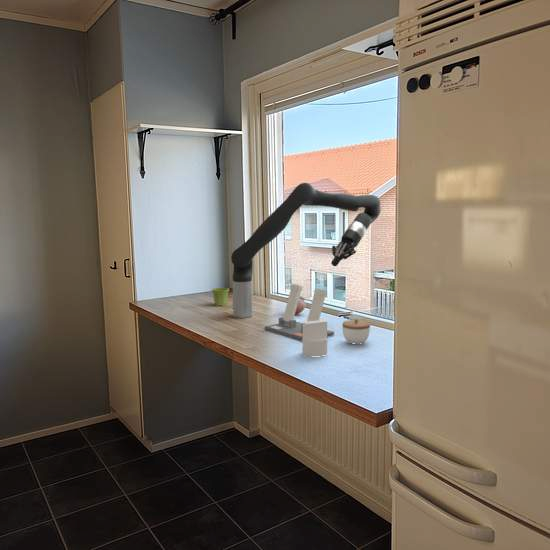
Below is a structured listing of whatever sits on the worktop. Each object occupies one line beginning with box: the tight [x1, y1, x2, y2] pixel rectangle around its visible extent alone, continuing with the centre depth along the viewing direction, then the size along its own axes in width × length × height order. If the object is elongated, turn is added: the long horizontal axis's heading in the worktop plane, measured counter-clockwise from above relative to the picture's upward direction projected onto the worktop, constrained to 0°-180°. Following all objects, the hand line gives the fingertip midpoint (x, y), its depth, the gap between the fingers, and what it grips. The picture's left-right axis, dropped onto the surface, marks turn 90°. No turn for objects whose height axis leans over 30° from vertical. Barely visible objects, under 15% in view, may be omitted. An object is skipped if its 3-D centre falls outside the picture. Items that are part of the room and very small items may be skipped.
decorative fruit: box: [286, 295, 306, 315], centre depth 257 cm, size 9×8×10 cm
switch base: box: [264, 316, 335, 342], centre depth 223 cm, size 16×26×4 cm, turn 39°
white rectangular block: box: [301, 319, 328, 357], centre depth 192 cm, size 9×9×12 cm
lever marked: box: [306, 288, 328, 322], centre depth 218 cm, size 2×5×17 cm, turn 39°
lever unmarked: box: [282, 283, 304, 324], centre depth 229 cm, size 2×5×17 cm, turn 39°
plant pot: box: [211, 287, 230, 307], centre depth 280 cm, size 9×9×9 cm
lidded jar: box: [342, 318, 371, 345], centre depth 207 cm, size 11×11×9 cm
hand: (333, 264), depth 221 cm, fingers closed
